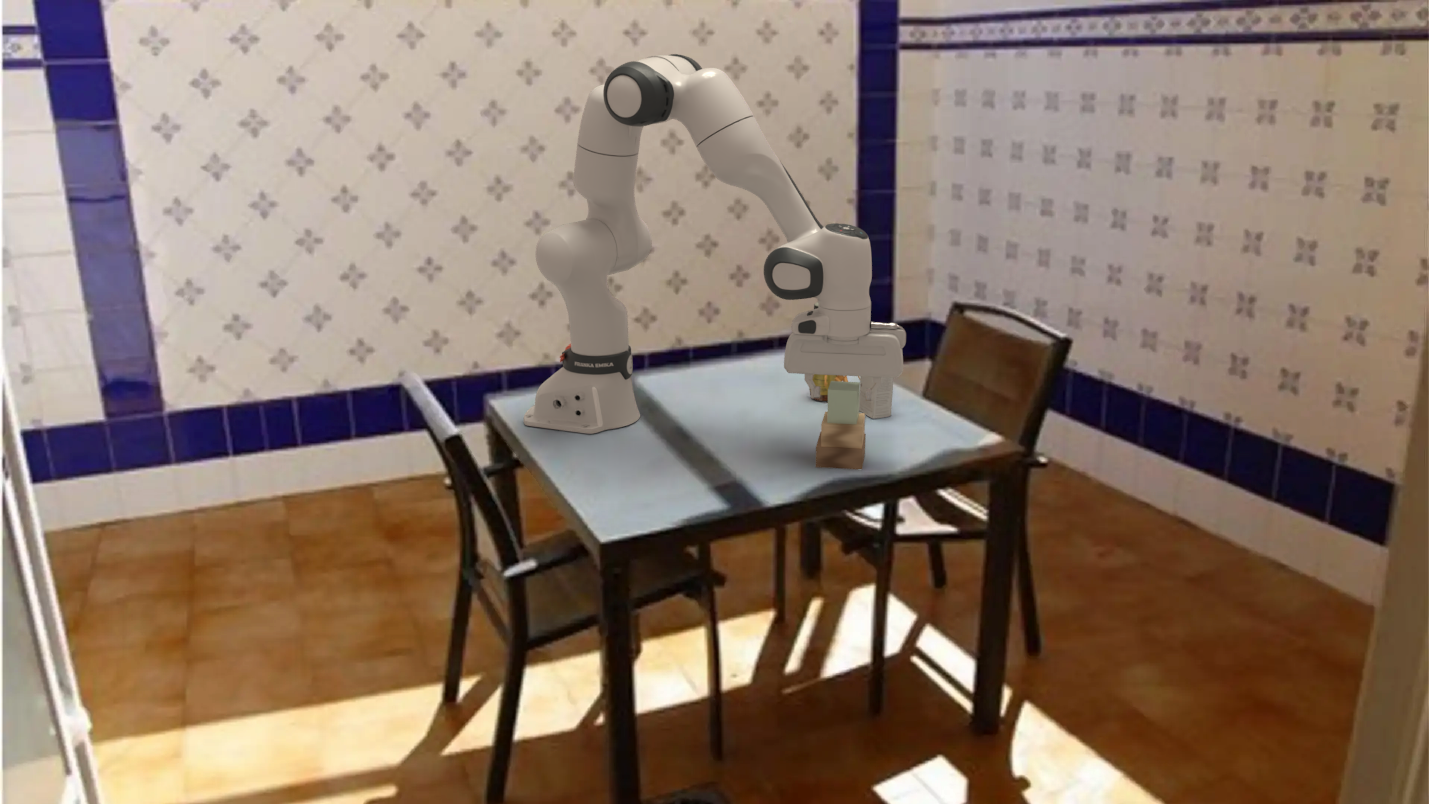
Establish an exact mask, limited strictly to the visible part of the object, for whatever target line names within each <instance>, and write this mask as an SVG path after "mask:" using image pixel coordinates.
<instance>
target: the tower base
mask: <svg viewBox="0 0 1429 804" xmlns="http://www.w3.org/2000/svg"><path fill="white" fill-rule="evenodd" d="M865 456H866V433H865V435H864V440H863V445H862V449H860V448H841V447H821V431H820V432H819V435H818V438H817V442H816V445H815V468H819V469H820V468H821V469H822V468H823V469H840V470H841V469H842V470H858V469H862V470H863V468H864V467H863V466H864V461H865Z"/></svg>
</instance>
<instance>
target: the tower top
mask: <svg viewBox="0 0 1429 804" xmlns="http://www.w3.org/2000/svg"><path fill="white" fill-rule="evenodd" d="M827 413H828V411H825V412H824V414H823V417H822V422H821V424H820V425H821V426H820V427H821V428H820V432H821V447H841V448H860V449H862V445H863V440H864V435H865V434H866V433H865V428H866V427H865V426H866V414H865V413H863V412H859V417H858V421H857V424H838V423H827Z"/></svg>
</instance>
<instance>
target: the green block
mask: <svg viewBox="0 0 1429 804" xmlns="http://www.w3.org/2000/svg"><path fill="white" fill-rule="evenodd" d="M859 394H860V381H859V382H858V381H848V382H843V381H831V382H830V385H829V388H828V402H827V412H828V413H827V423H838V424H857V421H858V417H859V413H860V410H859Z"/></svg>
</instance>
